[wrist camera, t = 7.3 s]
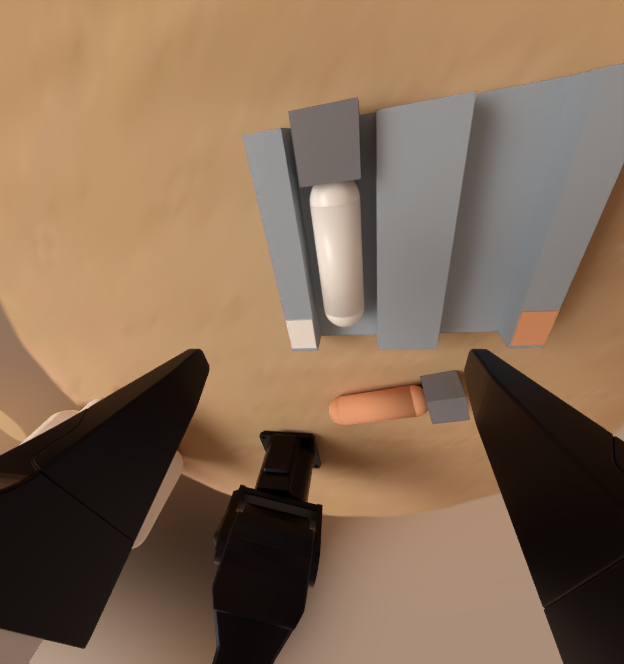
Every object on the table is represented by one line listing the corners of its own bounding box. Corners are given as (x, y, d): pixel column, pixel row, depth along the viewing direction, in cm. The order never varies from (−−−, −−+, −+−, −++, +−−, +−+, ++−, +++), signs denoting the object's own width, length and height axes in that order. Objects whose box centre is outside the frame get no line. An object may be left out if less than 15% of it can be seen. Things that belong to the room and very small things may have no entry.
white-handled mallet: (366, 312, 19) (366, 335, 17) (327, 314, 20) (322, 337, 18) (358, 103, 13) (358, 97, 11) (300, 114, 13) (288, 111, 11)
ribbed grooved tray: (522, 322, 19) (543, 348, 17) (299, 328, 22) (292, 351, 20) (612, 69, 12) (674, 53, 9) (260, 134, 15) (241, 135, 13)
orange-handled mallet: (336, 410, 28) (333, 435, 26) (326, 392, 26) (322, 416, 24) (460, 392, 24) (469, 419, 22) (455, 370, 22) (466, 396, 20)
